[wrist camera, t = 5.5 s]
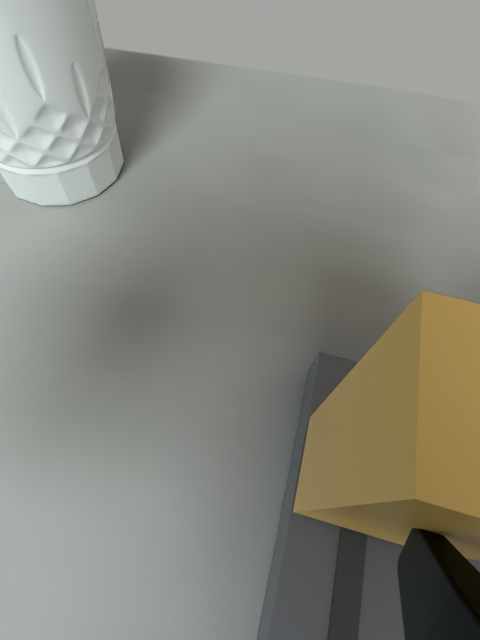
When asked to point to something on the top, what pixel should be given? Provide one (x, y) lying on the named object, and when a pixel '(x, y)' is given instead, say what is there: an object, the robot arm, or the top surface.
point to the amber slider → (403, 432)
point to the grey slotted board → (329, 557)
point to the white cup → (55, 103)
